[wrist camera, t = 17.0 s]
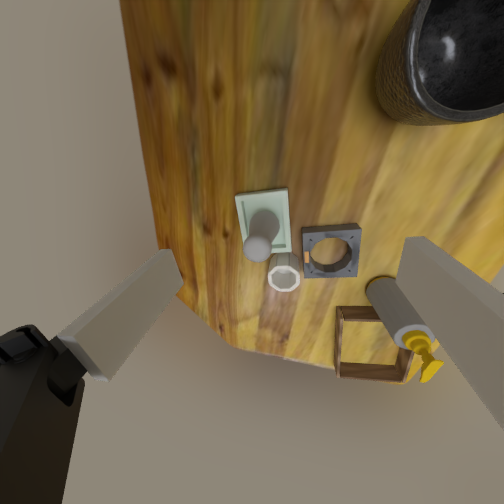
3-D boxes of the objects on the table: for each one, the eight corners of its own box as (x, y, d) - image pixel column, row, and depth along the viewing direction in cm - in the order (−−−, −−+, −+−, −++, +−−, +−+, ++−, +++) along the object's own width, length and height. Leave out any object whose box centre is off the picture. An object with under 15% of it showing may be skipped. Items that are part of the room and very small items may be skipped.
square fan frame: (301, 227, 40) (302, 233, 37) (356, 223, 37) (362, 229, 35) (303, 270, 44) (304, 278, 41) (352, 268, 42) (357, 277, 39)
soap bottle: (359, 297, 45) (396, 378, 29) (369, 271, 41) (418, 347, 26) (392, 302, 44) (449, 388, 28) (405, 276, 41) (478, 357, 25)
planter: (510, 44, 25) (697, -44, 13) (409, 151, 31) (476, 153, 20) (428, -37, 23) (561, -215, 12) (339, 95, 30) (369, 62, 18)
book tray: (336, 306, 47) (340, 318, 43) (413, 306, 43) (424, 320, 40) (333, 363, 56) (336, 377, 52) (397, 367, 52) (405, 382, 49)
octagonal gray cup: (269, 252, 43) (266, 266, 38) (297, 250, 42) (298, 265, 37) (272, 275, 46) (270, 291, 41) (299, 274, 45) (300, 291, 39)
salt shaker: (259, 239, 42) (247, 274, 30) (246, 215, 40) (228, 242, 28) (285, 229, 40) (283, 261, 28) (273, 202, 38) (265, 226, 26)
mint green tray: (237, 193, 39) (234, 196, 37) (287, 187, 37) (287, 190, 34) (247, 249, 44) (245, 254, 42) (291, 246, 42) (291, 252, 40)
